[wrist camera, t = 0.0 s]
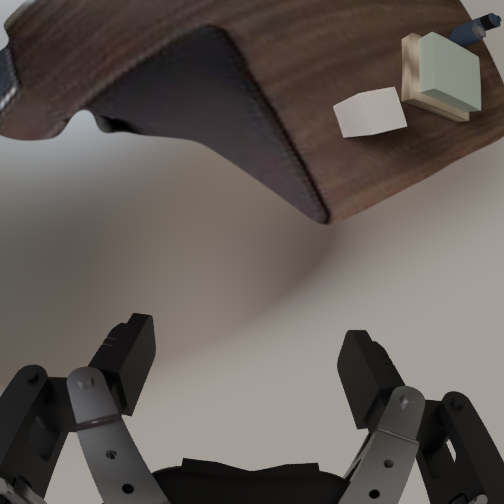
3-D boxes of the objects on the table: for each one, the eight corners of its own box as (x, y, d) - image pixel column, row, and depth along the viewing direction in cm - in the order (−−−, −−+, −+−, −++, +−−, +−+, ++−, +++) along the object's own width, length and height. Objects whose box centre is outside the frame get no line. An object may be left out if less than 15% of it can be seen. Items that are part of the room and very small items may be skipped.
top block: (418, 39, 27) (432, 31, 23) (463, 61, 27) (478, 57, 23) (419, 92, 30) (434, 88, 26) (464, 112, 30) (481, 110, 26)
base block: (400, 40, 30) (412, 32, 26) (453, 63, 31) (467, 59, 27) (400, 101, 34) (413, 98, 30) (453, 121, 34) (468, 121, 31)
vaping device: (463, 36, 28) (505, 21, 17) (456, 51, 29) (500, 37, 18) (453, 25, 27) (494, 8, 16) (445, 41, 29) (489, 23, 18)
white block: (332, 106, 34) (358, 93, 25) (362, 99, 34) (394, 86, 24) (343, 137, 36) (372, 134, 26) (372, 130, 35) (407, 126, 26)
